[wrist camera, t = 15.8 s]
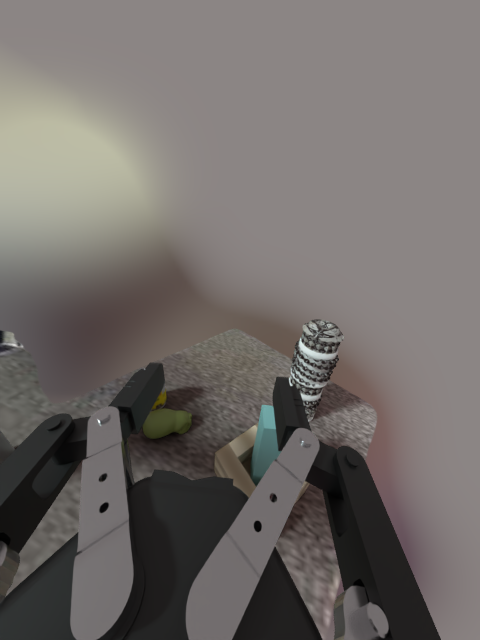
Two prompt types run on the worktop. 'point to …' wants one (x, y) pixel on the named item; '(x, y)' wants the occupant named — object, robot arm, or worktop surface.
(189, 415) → the pear
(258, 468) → the peg
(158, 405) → the supplement bottle
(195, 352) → the worktop surface
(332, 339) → the decorative candle
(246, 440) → the socket block
